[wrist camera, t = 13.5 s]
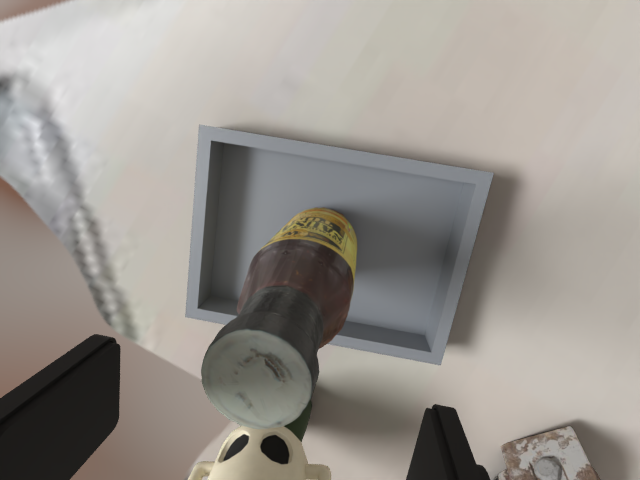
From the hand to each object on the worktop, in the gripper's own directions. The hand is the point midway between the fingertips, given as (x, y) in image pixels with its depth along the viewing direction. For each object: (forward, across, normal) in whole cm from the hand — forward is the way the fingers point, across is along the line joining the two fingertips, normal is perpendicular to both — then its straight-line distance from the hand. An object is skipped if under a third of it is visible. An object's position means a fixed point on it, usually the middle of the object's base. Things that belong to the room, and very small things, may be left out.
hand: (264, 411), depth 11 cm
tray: (+22, 0, 0) cm, 22 cm away
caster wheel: (+23, -24, +21) cm, 39 cm away
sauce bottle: (+22, +1, 0) cm, 22 cm away
